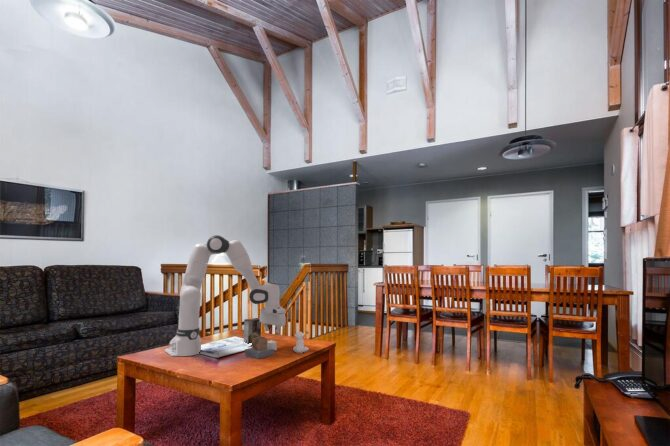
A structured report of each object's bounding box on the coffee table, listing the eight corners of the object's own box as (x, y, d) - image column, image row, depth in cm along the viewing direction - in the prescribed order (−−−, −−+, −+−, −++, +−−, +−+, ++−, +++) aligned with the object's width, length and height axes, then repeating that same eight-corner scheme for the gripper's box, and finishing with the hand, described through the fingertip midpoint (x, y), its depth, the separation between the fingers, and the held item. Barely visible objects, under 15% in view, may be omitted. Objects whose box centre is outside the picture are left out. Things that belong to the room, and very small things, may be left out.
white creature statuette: (308, 350, 226) (309, 330, 227) (307, 354, 218) (307, 333, 219) (293, 350, 227) (293, 329, 227) (291, 353, 218) (291, 332, 219)
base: (244, 354, 214) (244, 349, 215) (261, 350, 224) (261, 345, 224) (258, 358, 207) (258, 352, 207) (274, 354, 216) (274, 348, 216)
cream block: (264, 350, 225) (265, 341, 225) (271, 348, 229) (271, 340, 229) (270, 351, 222) (270, 343, 222) (276, 350, 226) (276, 341, 226)
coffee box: (256, 342, 242) (256, 317, 243) (260, 344, 237) (261, 319, 239) (243, 345, 236) (243, 319, 238) (247, 347, 232) (248, 320, 233)
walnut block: (252, 348, 215) (252, 338, 215) (260, 346, 220) (260, 336, 220) (258, 350, 211) (259, 340, 212) (267, 348, 216) (267, 338, 216)
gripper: (257, 307, 232) (256, 330, 231) (279, 311, 219) (279, 335, 218) (265, 306, 236) (264, 328, 236) (287, 309, 224) (287, 333, 223)
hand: (272, 331), depth 227 cm, fingers open, 8 cm apart
